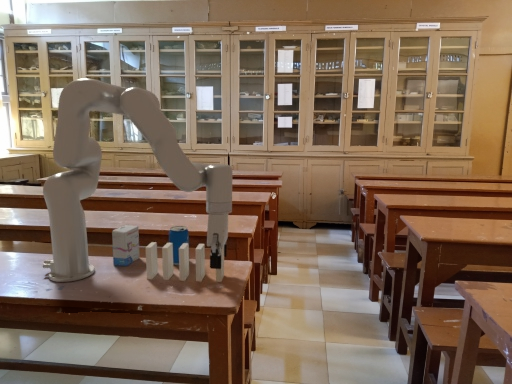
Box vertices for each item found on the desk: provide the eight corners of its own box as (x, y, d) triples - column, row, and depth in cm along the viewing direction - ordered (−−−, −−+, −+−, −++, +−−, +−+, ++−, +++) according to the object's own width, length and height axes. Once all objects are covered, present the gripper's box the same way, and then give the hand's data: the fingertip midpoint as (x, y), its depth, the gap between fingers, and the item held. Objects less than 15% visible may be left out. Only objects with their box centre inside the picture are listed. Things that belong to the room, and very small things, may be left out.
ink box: (126, 266, 114) (124, 231, 112) (112, 265, 115) (110, 230, 113) (140, 257, 122) (138, 225, 120) (127, 256, 123) (125, 224, 121)
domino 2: (163, 279, 104) (162, 247, 102) (168, 273, 109) (167, 242, 107) (168, 280, 104) (167, 248, 102) (173, 273, 109) (172, 242, 107)
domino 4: (196, 281, 103) (195, 249, 102) (199, 274, 108) (199, 243, 107) (201, 281, 103) (200, 249, 102) (204, 274, 108) (204, 243, 106)
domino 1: (146, 279, 104) (145, 247, 103) (153, 272, 109) (151, 242, 108) (152, 279, 104) (150, 247, 103) (157, 272, 109) (156, 242, 107)
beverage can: (182, 266, 114) (181, 231, 112) (166, 264, 116) (164, 229, 114) (192, 260, 120) (192, 226, 118) (176, 257, 122) (175, 224, 120)
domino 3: (179, 280, 104) (178, 248, 102) (184, 273, 109) (183, 243, 107) (184, 280, 104) (184, 248, 102) (189, 274, 108) (188, 243, 107)
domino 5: (216, 281, 103) (215, 249, 101) (219, 275, 108) (218, 244, 106) (221, 282, 103) (221, 249, 101) (224, 275, 108) (223, 244, 106)
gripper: (212, 200, 110) (211, 251, 113) (199, 212, 93) (199, 272, 96) (235, 201, 110) (234, 253, 113) (227, 214, 93) (226, 274, 96)
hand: (218, 262), depth 104 cm, fingers open, 9 cm apart
